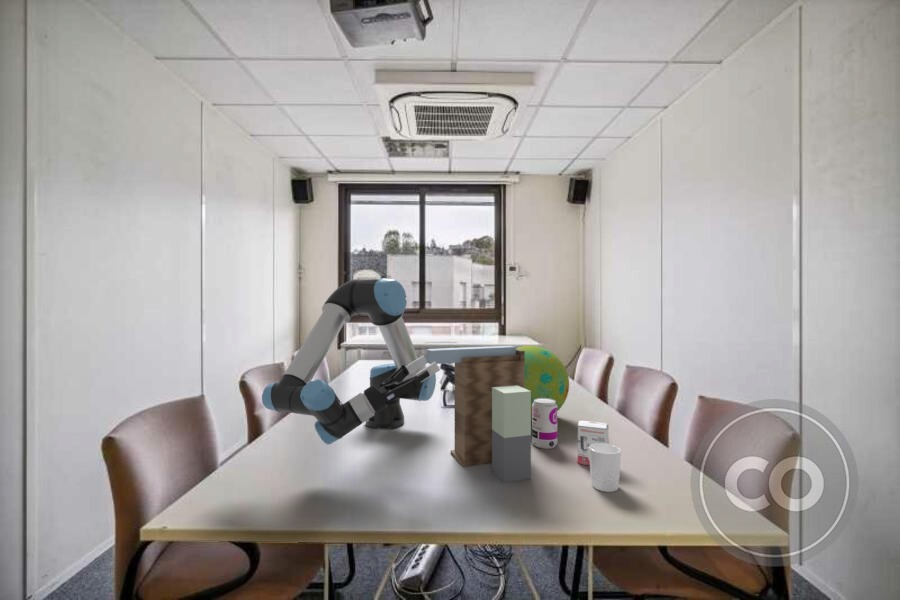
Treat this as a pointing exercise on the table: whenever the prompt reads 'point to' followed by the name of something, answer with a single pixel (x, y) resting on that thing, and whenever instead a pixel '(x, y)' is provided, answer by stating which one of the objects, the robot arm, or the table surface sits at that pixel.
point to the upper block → (511, 411)
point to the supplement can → (544, 423)
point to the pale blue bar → (466, 353)
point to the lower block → (511, 457)
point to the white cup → (605, 466)
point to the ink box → (590, 438)
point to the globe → (545, 375)
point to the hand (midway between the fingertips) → (431, 362)
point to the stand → (481, 402)
